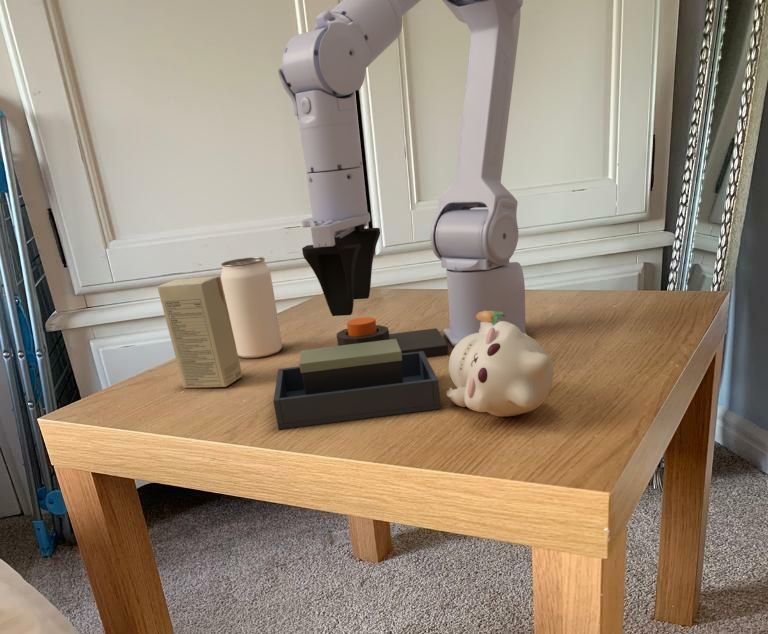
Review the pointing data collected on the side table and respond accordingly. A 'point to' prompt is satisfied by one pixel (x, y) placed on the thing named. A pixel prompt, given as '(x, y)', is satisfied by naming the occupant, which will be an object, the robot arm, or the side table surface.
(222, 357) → the cosmetic box
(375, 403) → the tray
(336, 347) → the green-topped black block
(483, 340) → the cat figurine
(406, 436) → the side table surface
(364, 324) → the button
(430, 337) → the control block
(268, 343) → the can
